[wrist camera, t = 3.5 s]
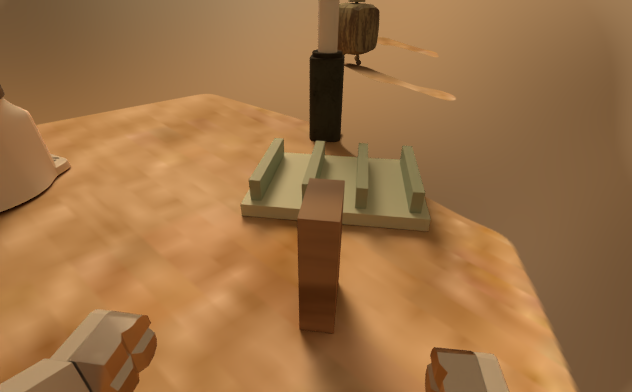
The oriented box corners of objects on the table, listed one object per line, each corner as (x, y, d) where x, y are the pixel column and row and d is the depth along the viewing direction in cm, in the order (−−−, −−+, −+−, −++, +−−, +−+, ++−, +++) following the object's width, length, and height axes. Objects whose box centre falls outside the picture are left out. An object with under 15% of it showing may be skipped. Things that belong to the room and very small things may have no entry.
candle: (312, 129, 60) (312, -42, 47) (340, 131, 60) (349, -41, 47) (308, 140, 56) (308, -45, 43) (339, 142, 55) (349, -45, 42)
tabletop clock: (355, 59, 121) (361, -24, 108) (377, 63, 116) (385, -24, 103) (329, 65, 112) (332, -25, 99) (350, 69, 107) (356, -26, 94)
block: (333, 333, 25) (340, 222, 19) (299, 329, 25) (297, 218, 20) (338, 283, 29) (345, 180, 24) (309, 280, 29) (309, 177, 24)
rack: (428, 231, 35) (435, 198, 33) (241, 215, 37) (238, 183, 35) (412, 170, 47) (417, 143, 45) (272, 161, 49) (270, 135, 47)
